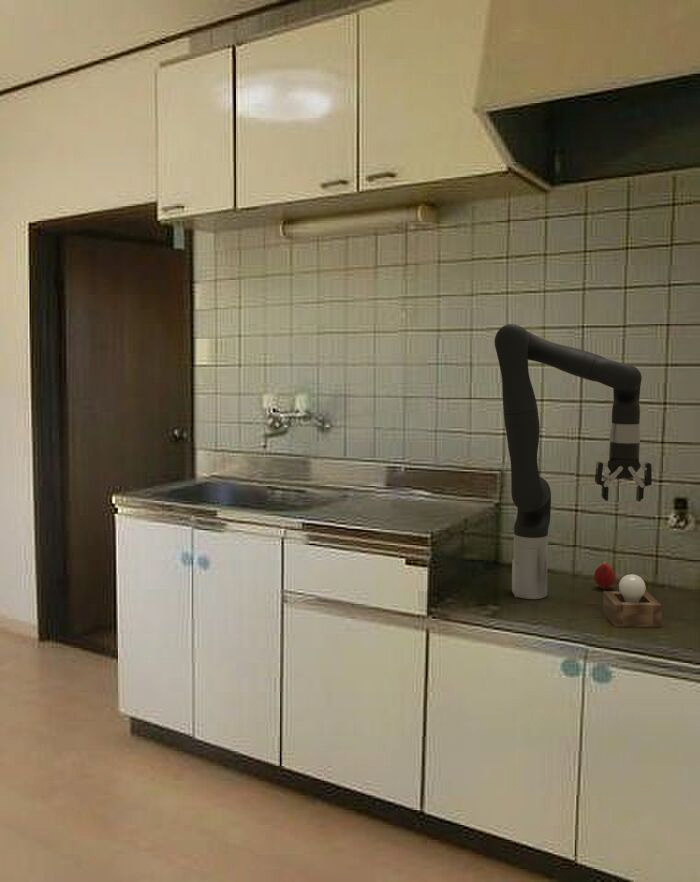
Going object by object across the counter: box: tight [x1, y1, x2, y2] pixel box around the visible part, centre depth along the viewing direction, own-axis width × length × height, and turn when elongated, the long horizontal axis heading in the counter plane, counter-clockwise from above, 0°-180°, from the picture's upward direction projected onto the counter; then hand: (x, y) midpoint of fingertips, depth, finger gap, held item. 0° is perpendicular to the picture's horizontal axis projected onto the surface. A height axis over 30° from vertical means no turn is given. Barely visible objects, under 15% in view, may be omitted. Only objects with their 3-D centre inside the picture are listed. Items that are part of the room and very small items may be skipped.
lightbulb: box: [618, 573, 647, 603], centre depth 198 cm, size 6×6×11 cm
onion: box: [593, 561, 616, 590], centre depth 224 cm, size 6×6×8 cm
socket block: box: [602, 590, 663, 628], centre depth 198 cm, size 11×11×6 cm
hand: (622, 500), depth 210 cm, fingers open, 8 cm apart
